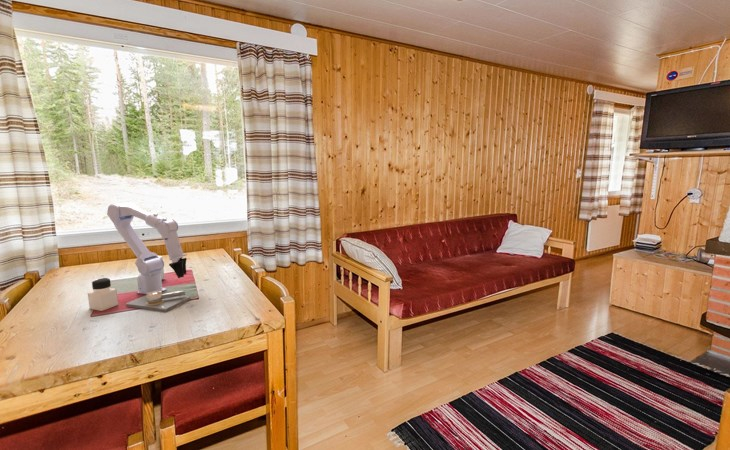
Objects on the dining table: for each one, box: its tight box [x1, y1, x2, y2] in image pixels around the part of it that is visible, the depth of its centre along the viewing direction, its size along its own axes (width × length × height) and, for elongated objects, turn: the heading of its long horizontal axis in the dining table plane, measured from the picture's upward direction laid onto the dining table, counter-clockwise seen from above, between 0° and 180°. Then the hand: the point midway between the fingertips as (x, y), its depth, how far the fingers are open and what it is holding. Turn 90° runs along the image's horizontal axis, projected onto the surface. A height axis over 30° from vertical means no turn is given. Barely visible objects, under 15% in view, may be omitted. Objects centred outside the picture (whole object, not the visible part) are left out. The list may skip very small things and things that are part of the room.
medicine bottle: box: [87, 277, 119, 312], centre depth 147 cm, size 7×7×12 cm
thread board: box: [125, 292, 191, 313], centre depth 153 cm, size 20×14×1 cm
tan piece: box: [146, 289, 186, 304], centre depth 153 cm, size 14×6×4 cm, turn 125°
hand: (182, 275), depth 160 cm, fingers open, 7 cm apart
